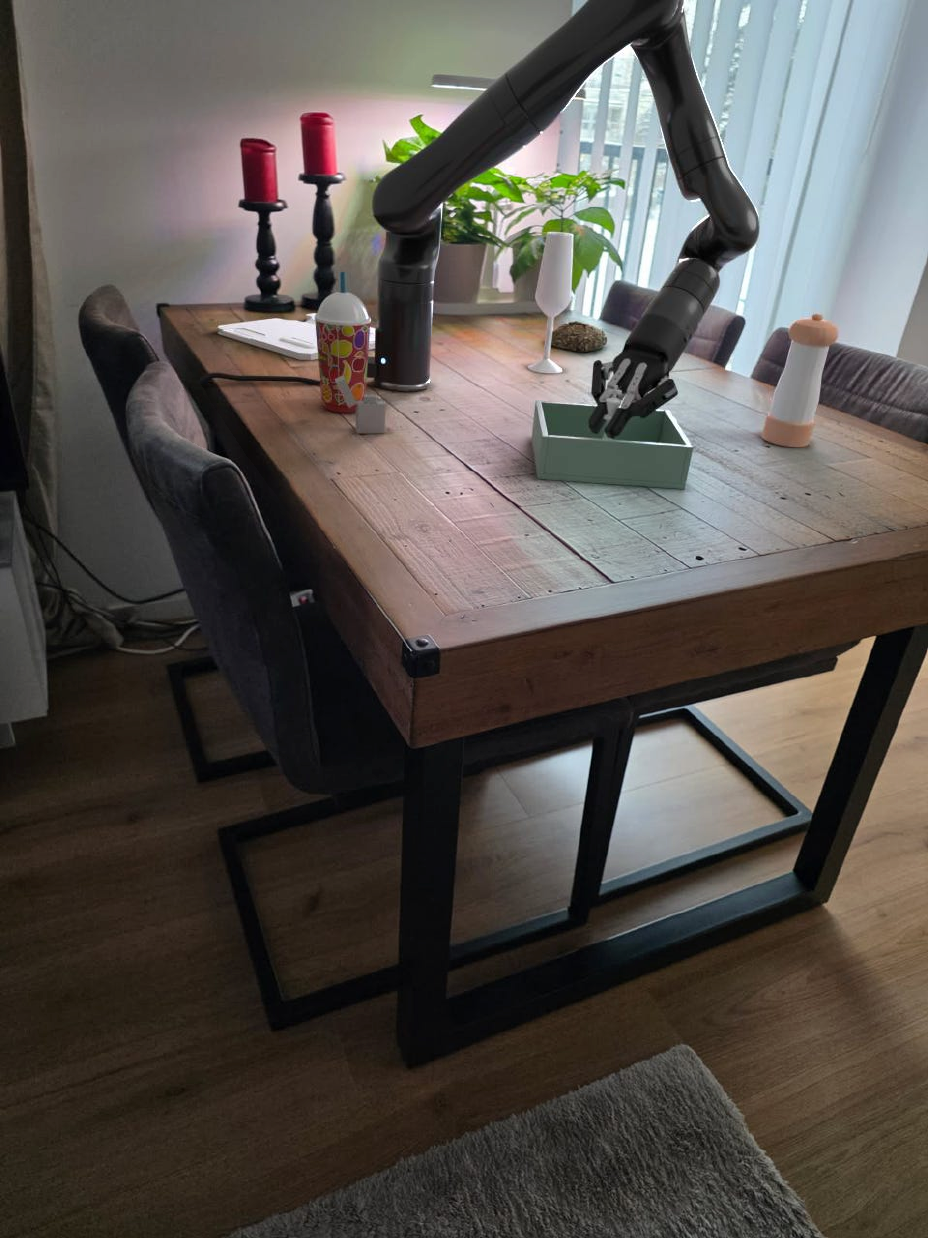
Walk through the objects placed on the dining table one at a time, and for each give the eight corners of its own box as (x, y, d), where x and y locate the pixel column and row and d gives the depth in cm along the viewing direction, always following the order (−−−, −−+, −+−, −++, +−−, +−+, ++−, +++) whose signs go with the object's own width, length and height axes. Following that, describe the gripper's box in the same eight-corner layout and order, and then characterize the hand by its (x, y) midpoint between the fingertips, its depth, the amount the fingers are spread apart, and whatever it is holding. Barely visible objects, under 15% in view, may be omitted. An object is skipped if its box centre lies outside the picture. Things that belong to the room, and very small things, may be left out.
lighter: (383, 429, 126) (384, 374, 122) (385, 433, 125) (386, 378, 121) (335, 429, 124) (334, 374, 120) (336, 433, 123) (336, 378, 119)
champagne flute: (523, 369, 163) (536, 232, 151) (533, 362, 168) (547, 230, 156) (556, 375, 161) (573, 237, 149) (566, 367, 166) (583, 234, 154)
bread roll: (613, 346, 187) (617, 322, 184) (589, 355, 177) (593, 330, 175) (561, 336, 192) (564, 313, 190) (535, 344, 183) (538, 320, 180)
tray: (213, 332, 172) (212, 324, 171) (318, 317, 191) (318, 310, 191) (304, 361, 157) (304, 352, 156) (409, 342, 176) (409, 334, 176)
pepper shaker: (785, 449, 131) (819, 319, 121) (751, 434, 136) (781, 309, 127) (818, 445, 134) (855, 318, 124) (784, 430, 139) (816, 308, 130)
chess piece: (622, 464, 117) (634, 392, 112) (586, 460, 118) (596, 388, 113) (623, 453, 121) (635, 383, 116) (588, 449, 122) (599, 378, 117)
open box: (537, 478, 112) (542, 436, 110) (531, 438, 127) (535, 400, 124) (684, 489, 113) (693, 447, 110) (662, 448, 127) (669, 410, 124)
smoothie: (318, 399, 137) (315, 266, 127) (370, 401, 138) (371, 269, 128) (314, 414, 130) (311, 274, 120) (369, 416, 131) (371, 278, 121)
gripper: (615, 303, 119) (550, 404, 117) (703, 321, 111) (635, 430, 109) (630, 338, 125) (569, 434, 123) (714, 357, 117) (650, 461, 115)
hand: (600, 432), depth 116 cm, fingers closed on chess piece, 2 cm apart
